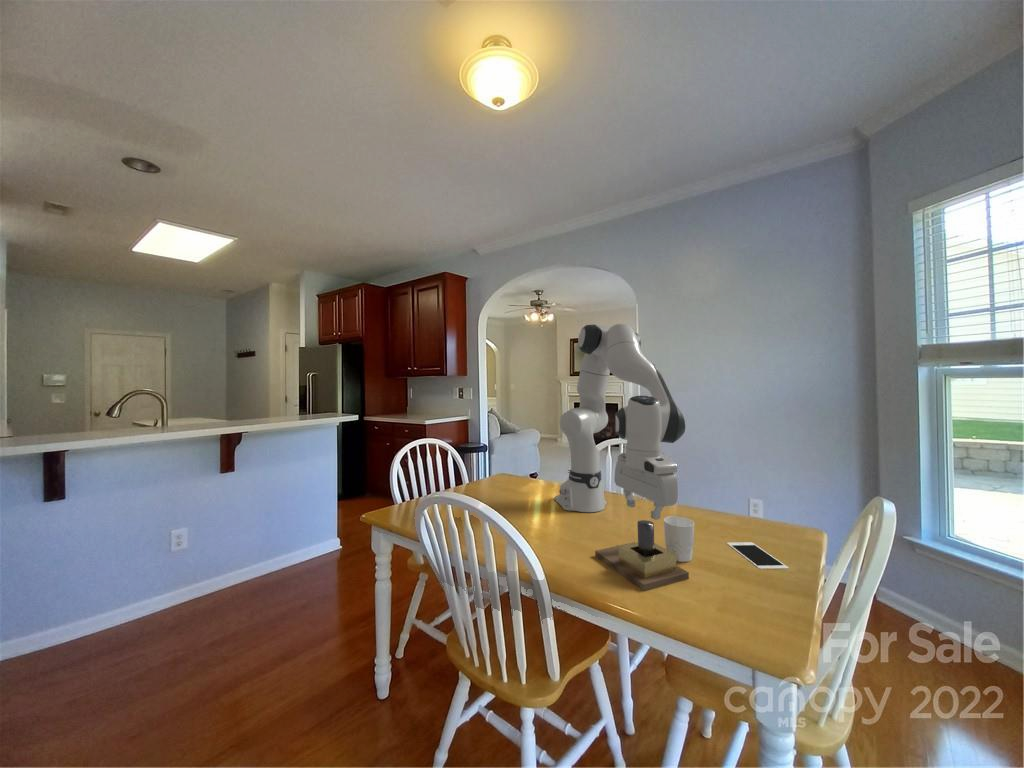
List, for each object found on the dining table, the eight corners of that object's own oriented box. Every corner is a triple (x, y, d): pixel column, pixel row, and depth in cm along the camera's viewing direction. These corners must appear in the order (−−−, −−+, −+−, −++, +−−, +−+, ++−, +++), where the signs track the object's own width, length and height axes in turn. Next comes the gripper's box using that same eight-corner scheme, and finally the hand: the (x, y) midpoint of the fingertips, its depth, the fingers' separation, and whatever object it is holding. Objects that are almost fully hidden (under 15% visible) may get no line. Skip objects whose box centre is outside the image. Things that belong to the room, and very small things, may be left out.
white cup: (676, 565, 105) (676, 528, 105) (658, 552, 113) (657, 517, 113) (701, 561, 107) (700, 524, 107) (681, 549, 115) (681, 514, 115)
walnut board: (595, 555, 111) (595, 550, 111) (635, 547, 117) (634, 542, 117) (644, 590, 93) (643, 584, 93) (688, 578, 98) (688, 572, 98)
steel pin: (635, 563, 103) (634, 521, 103) (647, 561, 105) (646, 519, 105) (645, 570, 99) (644, 526, 100) (658, 567, 101) (657, 524, 101)
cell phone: (752, 544, 118) (752, 542, 118) (789, 570, 102) (789, 567, 102) (726, 544, 118) (726, 542, 118) (759, 570, 102) (759, 568, 102)
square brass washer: (618, 561, 105) (618, 546, 105) (648, 554, 108) (648, 539, 108) (644, 578, 95) (644, 562, 95) (676, 570, 99) (676, 554, 99)
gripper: (609, 452, 110) (608, 501, 110) (661, 469, 91) (661, 528, 91) (627, 450, 112) (627, 498, 113) (682, 467, 93) (681, 524, 94)
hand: (642, 512), depth 102 cm, fingers open, 8 cm apart
